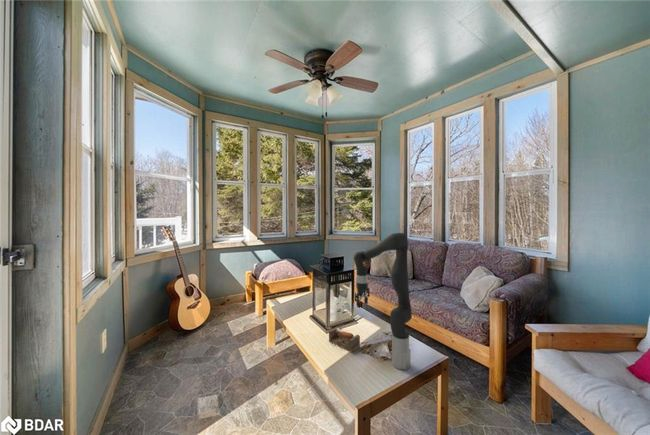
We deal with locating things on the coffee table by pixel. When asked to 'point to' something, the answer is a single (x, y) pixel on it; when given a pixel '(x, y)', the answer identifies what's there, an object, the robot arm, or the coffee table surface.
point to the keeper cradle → (350, 346)
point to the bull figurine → (344, 335)
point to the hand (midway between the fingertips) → (362, 305)
